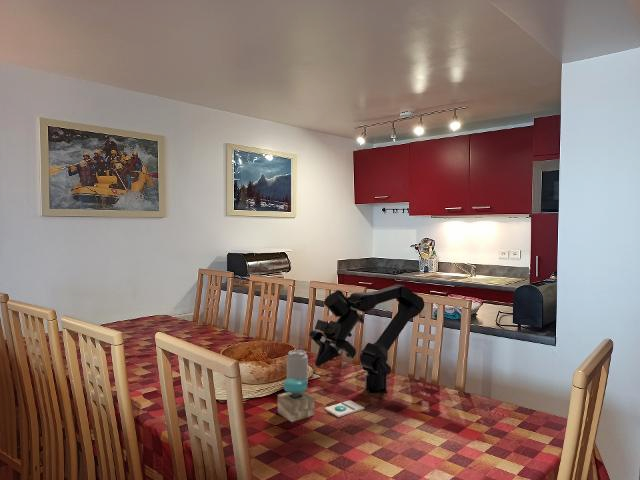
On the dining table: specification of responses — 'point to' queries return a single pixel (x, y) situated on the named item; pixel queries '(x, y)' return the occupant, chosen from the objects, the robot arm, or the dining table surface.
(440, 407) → the dining table surface
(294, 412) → the marble textured cube
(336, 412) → the pattern card
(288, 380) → the button
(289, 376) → the can
